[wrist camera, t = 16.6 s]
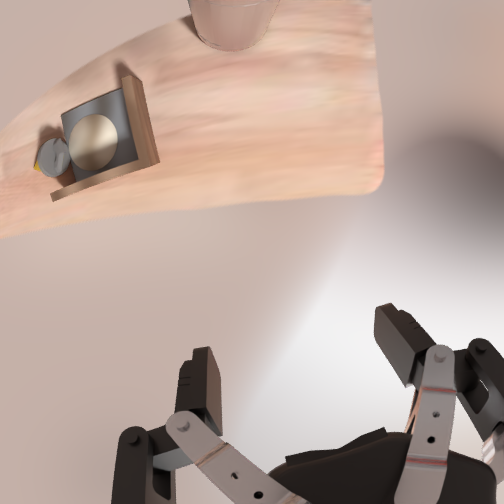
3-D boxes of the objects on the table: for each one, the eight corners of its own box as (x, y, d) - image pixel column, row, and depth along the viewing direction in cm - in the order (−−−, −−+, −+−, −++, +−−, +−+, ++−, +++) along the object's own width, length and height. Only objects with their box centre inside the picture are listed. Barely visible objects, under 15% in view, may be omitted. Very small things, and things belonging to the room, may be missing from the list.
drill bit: (82, 169, 32) (48, 183, 36) (80, 132, 31) (45, 151, 34) (51, 172, 27) (21, 187, 31) (49, 132, 26) (19, 153, 29)
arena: (141, 81, 30) (130, 74, 26) (160, 162, 35) (150, 166, 30) (52, 121, 30) (33, 121, 26) (69, 193, 35) (52, 202, 30)
